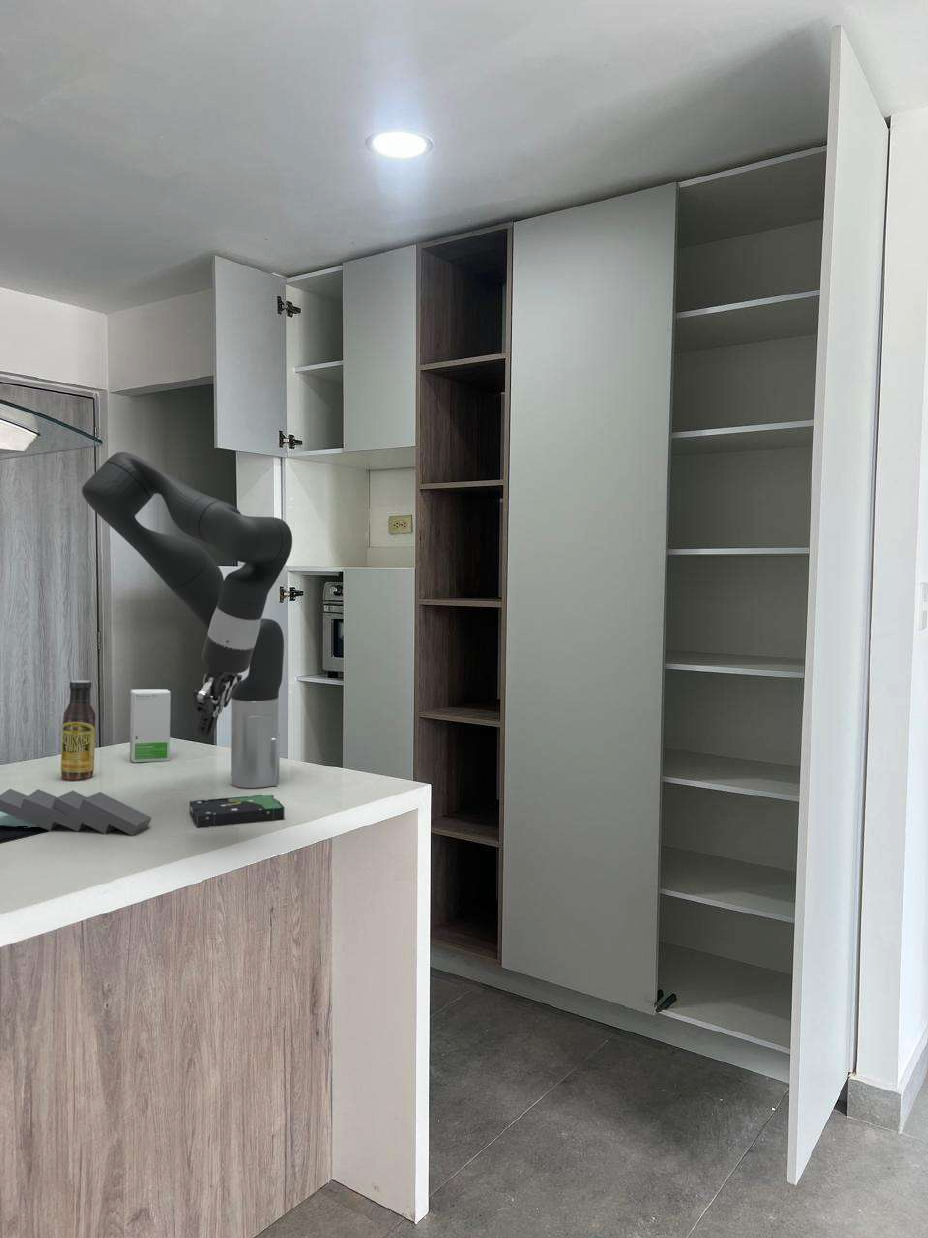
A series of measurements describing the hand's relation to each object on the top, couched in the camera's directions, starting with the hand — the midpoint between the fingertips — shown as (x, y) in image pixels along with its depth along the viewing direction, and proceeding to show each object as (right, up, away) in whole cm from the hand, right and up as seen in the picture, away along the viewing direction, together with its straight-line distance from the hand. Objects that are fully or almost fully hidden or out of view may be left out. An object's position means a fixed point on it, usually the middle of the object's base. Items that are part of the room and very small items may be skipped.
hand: (205, 733), depth 148 cm
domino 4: (-15, -15, +2) cm, 22 cm away
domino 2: (-25, -15, +3) cm, 29 cm away
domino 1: (-28, -15, +5) cm, 32 cm away
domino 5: (-11, -15, +1) cm, 19 cm away
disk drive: (+2, -17, +11) cm, 20 cm away
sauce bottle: (-36, -14, +37) cm, 54 cm away
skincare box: (-28, -13, +56) cm, 64 cm away
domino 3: (-20, -15, +3) cm, 25 cm away
